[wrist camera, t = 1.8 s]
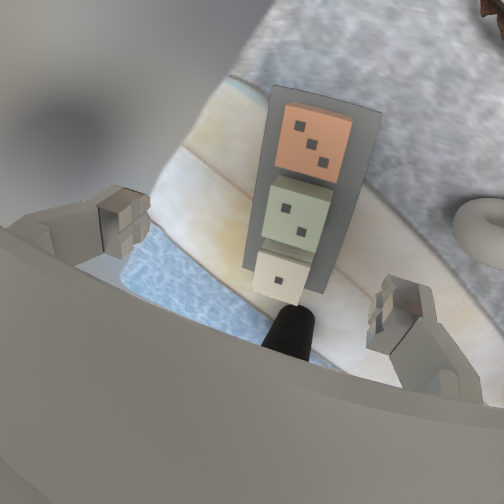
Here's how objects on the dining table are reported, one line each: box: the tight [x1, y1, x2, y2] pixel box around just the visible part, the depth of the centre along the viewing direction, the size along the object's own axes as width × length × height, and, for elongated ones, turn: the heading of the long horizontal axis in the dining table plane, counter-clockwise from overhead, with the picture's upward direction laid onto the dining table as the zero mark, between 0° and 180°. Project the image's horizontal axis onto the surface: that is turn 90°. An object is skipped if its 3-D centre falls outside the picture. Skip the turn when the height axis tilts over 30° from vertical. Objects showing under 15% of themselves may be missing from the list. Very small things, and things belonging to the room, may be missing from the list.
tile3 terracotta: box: [275, 102, 353, 183], centre depth 24 cm, size 5×5×3 cm
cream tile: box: [251, 238, 315, 306], centre depth 33 cm, size 5×5×3 cm
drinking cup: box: [261, 305, 315, 362], centre depth 33 cm, size 8×8×20 cm
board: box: [242, 85, 382, 294], centre depth 30 cm, size 21×10×2 cm, turn 171°
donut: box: [453, 198, 504, 271], centre depth 21 cm, size 10×4×10 cm, turn 102°
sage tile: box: [261, 175, 334, 253], centre depth 28 cm, size 5×5×3 cm
